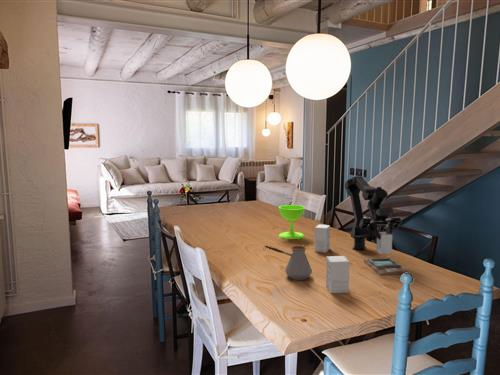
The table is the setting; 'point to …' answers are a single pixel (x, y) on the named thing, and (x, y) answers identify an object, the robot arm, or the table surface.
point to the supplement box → (337, 274)
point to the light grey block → (384, 243)
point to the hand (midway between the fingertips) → (385, 238)
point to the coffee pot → (296, 263)
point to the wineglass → (291, 220)
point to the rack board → (385, 266)
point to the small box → (322, 238)
